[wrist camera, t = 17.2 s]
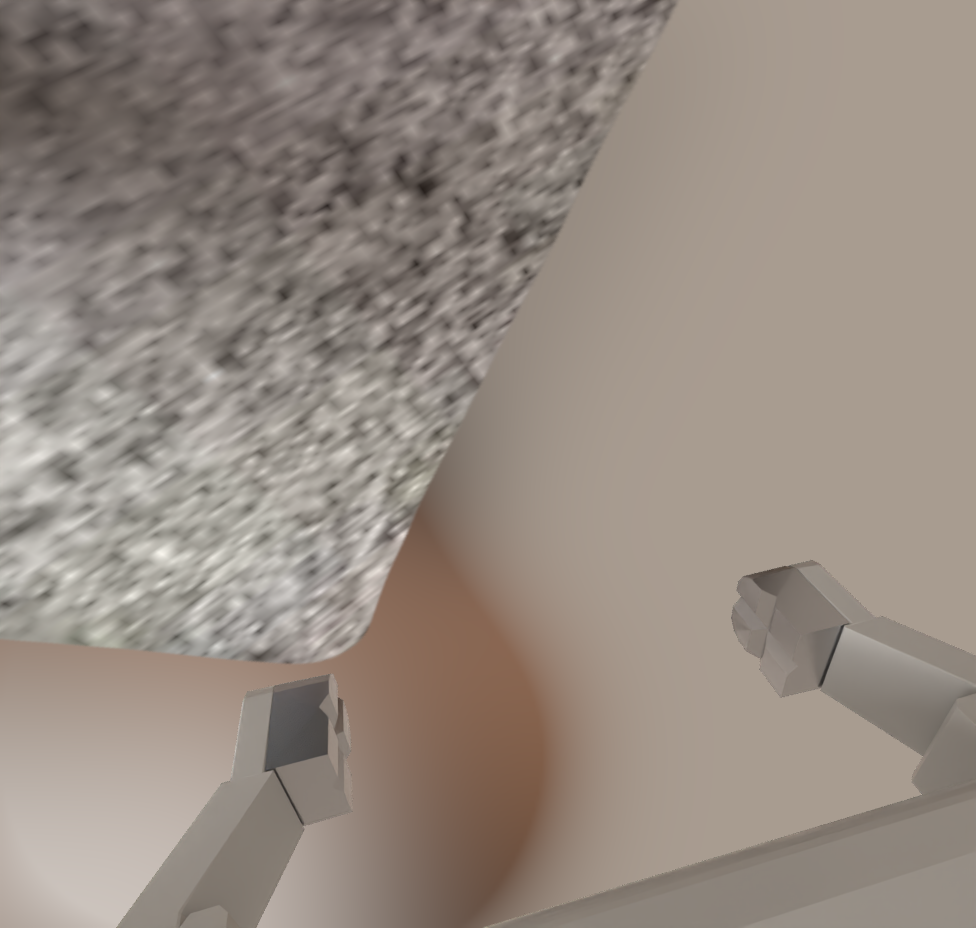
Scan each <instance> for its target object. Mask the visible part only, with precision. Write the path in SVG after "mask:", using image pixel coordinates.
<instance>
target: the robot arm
mask: <svg viewBox="0 0 976 928" xmlns="http://www.w3.org/2000/svg"><path fill="white" fill-rule="evenodd" d="M737 592H738V593H739V594H740V596H741V598H740V599H739V600H738V601H737V602H736V603H735V604H734V606H733V610H732V617H731V619H732V624H733V628H734V631H735V634H736V636H737V638H738V640H739V642H740V643H741V644H742V646H743V647H744V649H745V650H746V651H747V652H749V653H750V654H752V655H754V656H756V657H758V658H760V671H761V672H762V673H763V675H764V676H765V677H766V679H767V680H768V681H769V683H770V684H771V685H772V687H773V688H774V690H775V691H776V692H777V694H778V695H779V696H780V697H785V696H789V695H793V694H798V693H802V692H806V691H811V690H815V689H819V688H821V691H822V692H824V693H825V694H827V695H828V696H830V697H831V698H833V699H835V700H836V701H838V702H839V703H841V704H842V705H844V706H845V707H847V708H849V709H850V710H852V711H854V712H855V713H857V714H858V715H859V716H861V717H863V718H864V719H866V720H867V721H869V722H870V723H872V724H874V725H875V726H877V727H878V728H880V729H882V730H883V731H885V732H886V733H888V734H889V735H891V736H892V737H894V738H896V739H897V740H899V741H900V742H902V743H903V744H905V745H907V746H908V747H910V748H911V749H913V750H914V751H916V752H917V753H919V754H920V755H922V756H923V757H922V759H921V761H920V762H919V764H918V766H917V768H916V769H915V771H914V773H913V776H912V783H913V784H914V785H915V787H916V788H917V789H918V790H919V791H920V793H921V794H922V795H920V796H917V797H914V798H910V799H907V800H904V801H901V802H897V803H894V804H890V805H887V806H884V807H881V808H877V809H874V810H871V811H867V812H864V813H861V814H857V815H854V816H851V817H847V818H845V819H841V820H838V821H834V822H831V823H828V824H824V825H821V826H818V827H815V828H811V829H808V830H805V831H801V832H798V833H795V834H791V835H788V836H785V837H781V838H778V839H775V840H771V841H768V842H765V843H761V844H758V845H755V846H752V847H748V848H745V849H741V850H738V851H735V852H731V853H728V854H725V855H722V856H718V857H715V858H712V859H708V860H705V861H702V862H698V863H695V864H692V865H688V866H685V867H682V868H679V869H675V870H672V871H669V872H665V873H662V874H659V875H655V876H652V877H649V878H646V879H642V880H639V881H636V882H632V883H629V884H626V885H622V886H619V887H616V888H613V889H609V890H606V891H602V892H599V893H596V894H592V895H589V896H586V897H583V898H579V899H576V900H573V901H569V902H566V903H563V904H559V905H556V906H553V907H549V908H546V909H543V910H540V911H537V912H533V913H530V914H527V915H523V916H520V917H517V918H513V919H510V920H507V921H503V922H500V923H497V924H494V925H490V926H487V927H483V928H976V655H973V654H971V653H969V652H966V651H964V650H962V649H959V648H957V647H954V646H952V645H949V644H947V643H945V642H943V641H940V640H938V639H935V638H933V637H931V636H928V635H926V634H924V633H921V632H919V631H916V630H914V629H912V628H909V627H907V626H905V625H902V624H900V623H897V622H895V621H893V620H890V619H888V618H886V617H883V616H881V617H874V616H873V615H872V614H871V613H870V612H869V611H868V610H867V609H866V608H865V607H864V606H863V605H862V604H861V603H860V602H859V601H858V600H857V599H856V598H854V596H853V595H851V593H850V592H848V590H846V589H845V588H844V587H843V586H842V585H841V584H840V583H839V582H838V581H837V580H836V579H835V578H834V577H833V576H832V575H831V574H830V573H829V572H828V571H827V570H826V569H825V568H824V567H823V566H822V565H821V564H819V563H817V562H815V561H813V560H811V561H806V562H802V563H798V564H794V565H790V566H783V567H779V568H775V569H771V570H767V571H763V572H759V573H755V574H751V575H747V576H743V577H742V578H741V579H740V580H739V581H738V586H737ZM337 688H338V685H337V682H336V680H335V678H334V675H333V674H328V675H323V676H318V677H313V678H309V679H304V680H299V681H294V682H290V683H284V684H280V685H275V686H271V687H267V688H262V689H258V690H253V691H248V692H247V693H246V695H245V698H244V700H243V703H242V709H241V716H240V722H239V729H238V735H237V741H236V748H235V755H234V761H233V768H232V774H231V780H230V781H227V782H224V783H221V785H220V786H219V788H218V789H217V790H216V792H215V793H214V794H213V796H212V797H211V798H210V800H209V801H208V803H207V804H206V805H205V807H204V808H203V809H202V811H201V812H200V814H199V815H198V816H197V818H196V819H195V821H194V822H193V823H192V825H191V826H190V827H189V829H188V830H187V831H186V833H185V834H184V835H183V837H182V838H181V840H180V841H179V842H178V844H177V845H176V847H175V848H174V849H173V851H172V852H171V853H170V855H169V856H168V858H167V859H166V860H165V861H164V863H163V864H162V866H161V867H160V868H159V870H158V871H157V872H156V874H155V875H154V877H153V878H152V879H151V881H150V882H149V884H148V885H147V886H146V888H145V889H144V891H143V892H142V893H141V894H140V896H139V897H138V899H137V900H136V902H135V903H134V904H133V906H132V907H131V908H130V910H129V911H128V912H127V914H126V915H125V916H124V918H123V919H122V920H121V922H120V923H119V925H118V926H117V927H116V928H256V927H257V925H258V923H259V921H260V919H261V917H262V914H263V913H264V911H265V909H266V907H267V905H268V902H269V900H270V898H271V896H272V894H273V892H274V890H275V888H276V886H277V884H278V882H279V880H280V878H281V876H282V874H283V872H284V870H285V868H286V866H287V864H288V862H289V860H290V858H291V856H292V854H293V852H294V850H295V847H296V846H297V844H298V841H299V840H300V837H301V835H302V833H303V831H304V827H303V826H306V825H310V824H313V823H316V822H320V821H323V820H326V819H330V818H333V817H337V816H340V815H343V814H346V813H350V812H352V775H351V772H350V769H349V767H348V764H347V762H346V759H347V757H348V756H349V754H350V752H351V736H350V727H349V720H348V715H347V711H346V707H345V705H344V702H343V700H342V699H340V698H338V689H337Z"/></svg>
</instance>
